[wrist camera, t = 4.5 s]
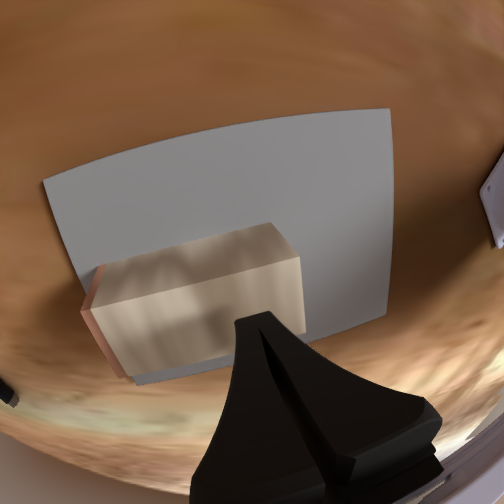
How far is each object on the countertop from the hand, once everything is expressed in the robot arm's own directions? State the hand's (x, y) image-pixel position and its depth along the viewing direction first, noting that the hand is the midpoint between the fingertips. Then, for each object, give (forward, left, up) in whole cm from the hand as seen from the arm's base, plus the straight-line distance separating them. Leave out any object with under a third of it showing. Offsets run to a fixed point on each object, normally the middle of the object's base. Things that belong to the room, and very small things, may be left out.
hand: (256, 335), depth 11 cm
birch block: (-2, +2, -3) cm, 4 cm away
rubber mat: (-1, +1, -6) cm, 6 cm away
